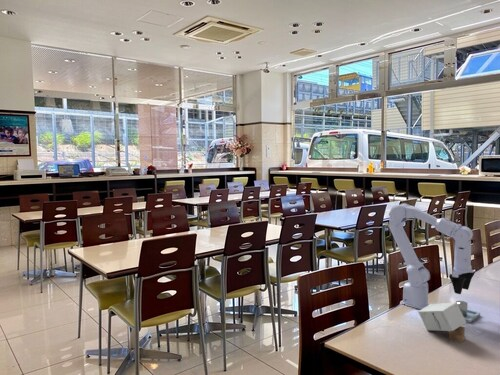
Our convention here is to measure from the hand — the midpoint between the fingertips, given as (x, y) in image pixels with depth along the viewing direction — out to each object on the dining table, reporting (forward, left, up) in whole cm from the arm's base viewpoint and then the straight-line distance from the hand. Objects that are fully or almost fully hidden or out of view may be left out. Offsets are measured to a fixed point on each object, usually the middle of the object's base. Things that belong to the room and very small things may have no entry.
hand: (461, 291), depth 150 cm
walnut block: (+6, -22, -10) cm, 25 cm away
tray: (0, 0, -10) cm, 10 cm away
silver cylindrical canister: (0, 0, -10) cm, 10 cm away
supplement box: (-4, -20, -6) cm, 21 cm away
